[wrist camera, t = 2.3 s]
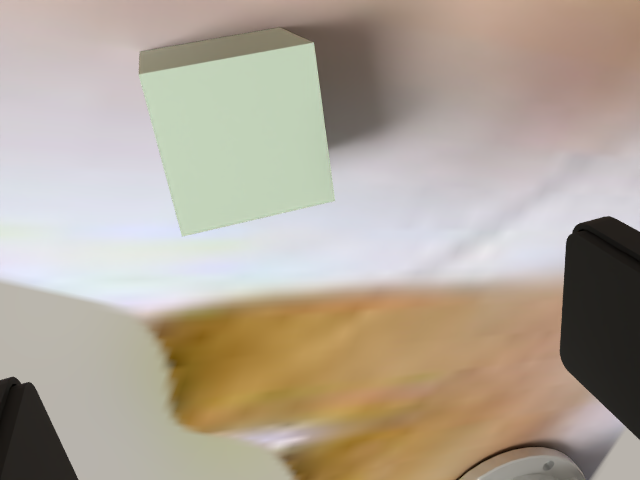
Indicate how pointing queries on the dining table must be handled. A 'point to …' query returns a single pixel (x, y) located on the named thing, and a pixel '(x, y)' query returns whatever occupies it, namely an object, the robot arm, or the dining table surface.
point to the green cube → (238, 127)
